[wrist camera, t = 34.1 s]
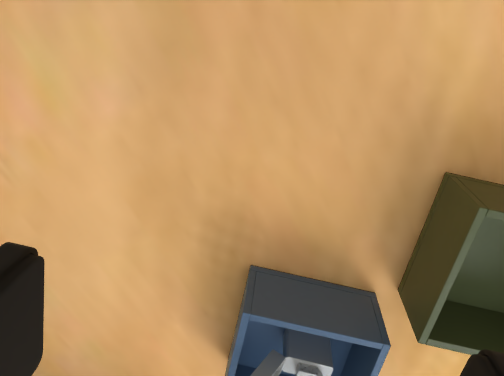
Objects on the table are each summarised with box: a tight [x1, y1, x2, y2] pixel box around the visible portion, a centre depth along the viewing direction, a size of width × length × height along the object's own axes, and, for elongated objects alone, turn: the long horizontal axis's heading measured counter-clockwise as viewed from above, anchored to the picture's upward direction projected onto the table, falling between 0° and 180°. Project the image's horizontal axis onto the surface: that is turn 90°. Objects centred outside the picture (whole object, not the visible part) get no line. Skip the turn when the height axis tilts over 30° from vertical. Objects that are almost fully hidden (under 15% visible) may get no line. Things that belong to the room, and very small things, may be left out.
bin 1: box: [225, 265, 391, 376], centre depth 38 cm, size 12×12×7 cm
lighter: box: [250, 328, 333, 376], centre depth 37 cm, size 7×2×8 cm, turn 77°
